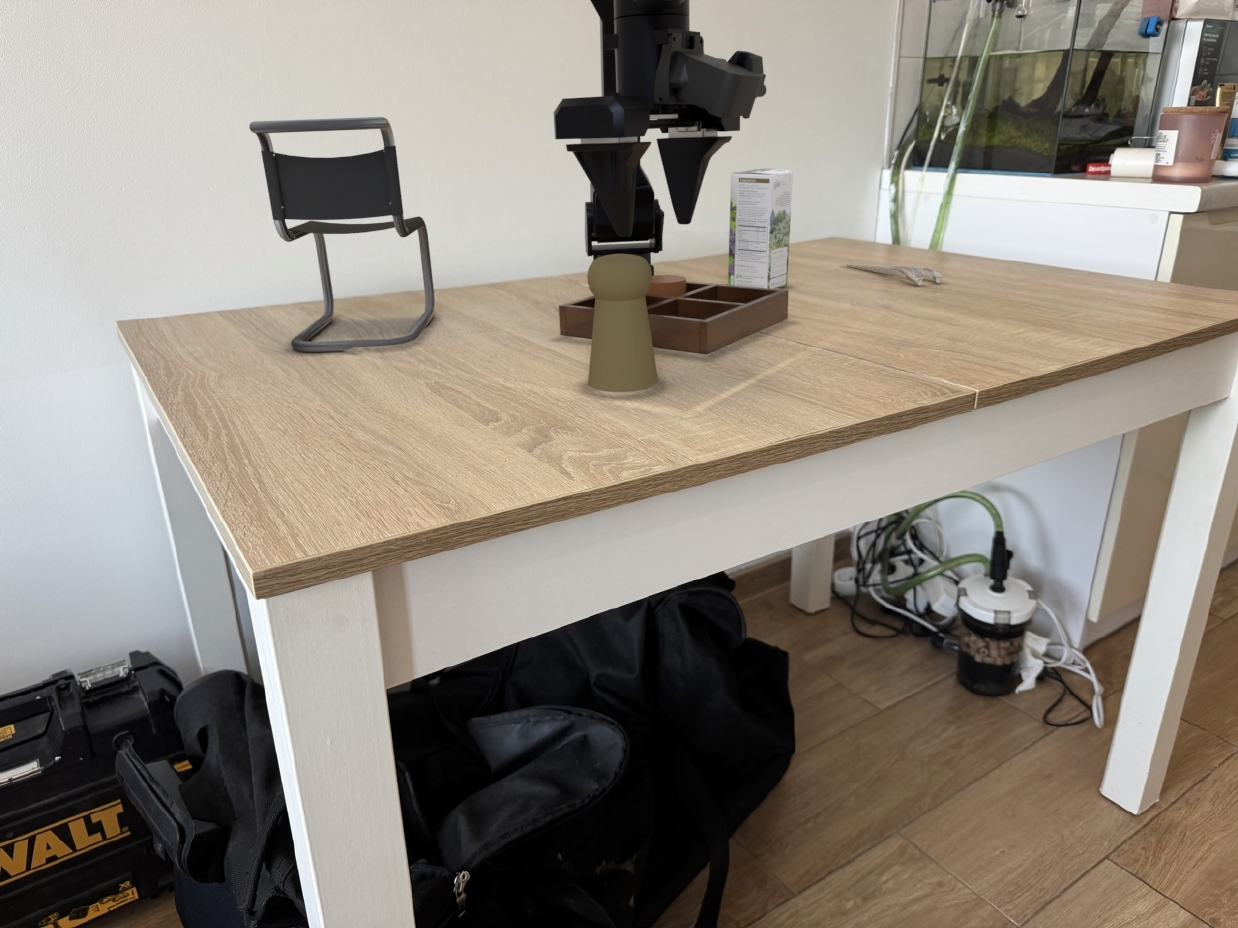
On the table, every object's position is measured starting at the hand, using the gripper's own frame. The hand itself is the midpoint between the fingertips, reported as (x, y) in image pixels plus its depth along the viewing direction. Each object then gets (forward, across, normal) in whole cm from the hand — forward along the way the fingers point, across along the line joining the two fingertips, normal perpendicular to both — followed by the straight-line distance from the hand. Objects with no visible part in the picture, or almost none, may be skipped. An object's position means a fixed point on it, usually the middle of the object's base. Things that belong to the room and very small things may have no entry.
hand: (655, 230), depth 74 cm
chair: (+12, +1, +38) cm, 40 cm away
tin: (+12, +21, +12) cm, 27 cm away
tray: (+12, +17, +8) cm, 22 cm away
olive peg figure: (+13, -3, +1) cm, 13 cm away
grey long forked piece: (+12, +58, 0) cm, 59 cm away
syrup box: (+12, +42, +11) cm, 45 cm away
